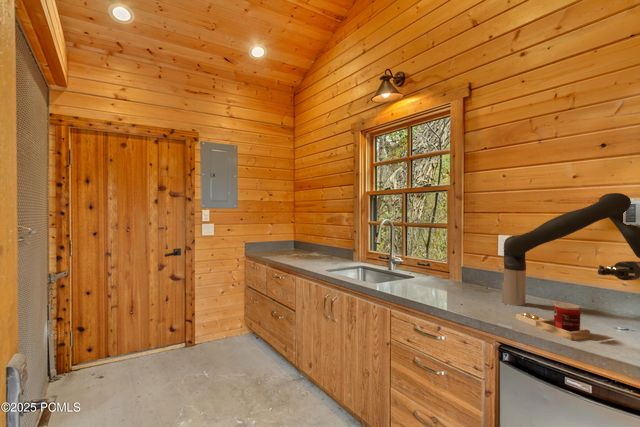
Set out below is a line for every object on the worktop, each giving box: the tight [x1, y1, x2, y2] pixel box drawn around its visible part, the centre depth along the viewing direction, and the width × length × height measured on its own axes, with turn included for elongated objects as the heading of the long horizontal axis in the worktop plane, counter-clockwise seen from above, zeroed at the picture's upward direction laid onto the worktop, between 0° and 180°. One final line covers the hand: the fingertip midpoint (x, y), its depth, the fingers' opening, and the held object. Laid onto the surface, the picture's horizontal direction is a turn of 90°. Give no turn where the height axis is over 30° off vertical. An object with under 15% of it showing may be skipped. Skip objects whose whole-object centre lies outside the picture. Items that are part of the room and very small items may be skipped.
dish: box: [515, 313, 547, 327], centre depth 136 cm, size 9×6×2 cm, turn 17°
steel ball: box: [523, 311, 532, 319], centre depth 138 cm, size 3×3×3 cm
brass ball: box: [531, 314, 540, 320], centre depth 134 cm, size 3×3×3 cm
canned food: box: [553, 301, 581, 332], centre depth 123 cm, size 8×8×11 cm
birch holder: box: [535, 318, 591, 341], centre depth 124 cm, size 13×9×3 cm
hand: (600, 272), depth 130 cm, fingers closed
